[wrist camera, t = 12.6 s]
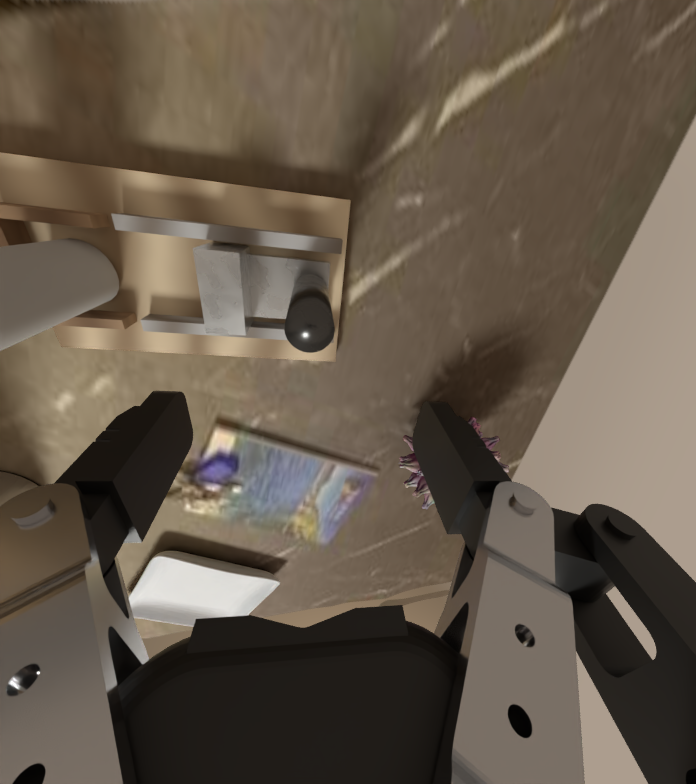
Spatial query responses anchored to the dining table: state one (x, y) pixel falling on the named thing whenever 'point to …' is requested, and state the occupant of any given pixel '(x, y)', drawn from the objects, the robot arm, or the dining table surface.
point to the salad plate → (197, 589)
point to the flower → (417, 475)
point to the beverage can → (50, 285)
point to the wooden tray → (168, 249)
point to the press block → (264, 293)
